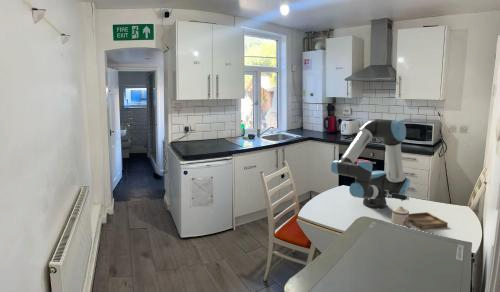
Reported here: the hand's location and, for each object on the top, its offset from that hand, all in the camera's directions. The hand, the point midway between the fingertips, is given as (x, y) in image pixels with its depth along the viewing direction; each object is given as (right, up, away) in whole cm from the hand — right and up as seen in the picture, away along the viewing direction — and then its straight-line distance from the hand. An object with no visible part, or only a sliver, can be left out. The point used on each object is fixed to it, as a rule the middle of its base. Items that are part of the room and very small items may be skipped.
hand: (398, 195), depth 202 cm
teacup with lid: (+3, -18, +6) cm, 20 cm away
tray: (+19, -18, +9) cm, 27 cm away
